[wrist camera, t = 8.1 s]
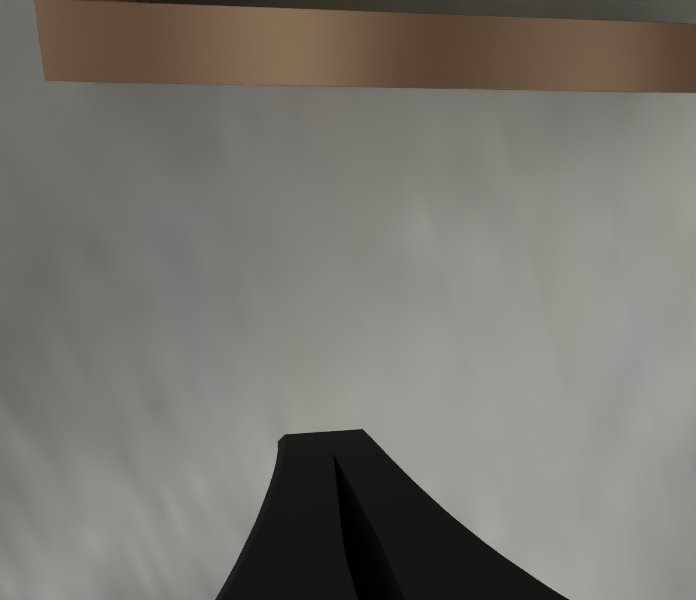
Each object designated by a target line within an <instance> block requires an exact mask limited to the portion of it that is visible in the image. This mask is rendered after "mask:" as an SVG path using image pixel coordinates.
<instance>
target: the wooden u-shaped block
mask: <svg viewBox="0 0 696 600" xmlns="http://www.w3.org/2000/svg"><path fill="white" fill-rule="evenodd" d="M34 2H35V10H36V17H37V25H38V32H39V39H40V47H41V54H42V62H43V69H44V77H45V80H49V81H77V82H118V83H172V84H226V85H280V86H333V87H387V88H441V89H495V90H548V91H602V92H661V93H696V24H688V23H661V22H635V21H608V20H582V19H556V18H529V17H503V16H477V15H450V14H424V13H397V12H371V11H345V10H318V9H292V8H266V7H239V6H213V5H186V4H160V3H143V0H34Z"/></svg>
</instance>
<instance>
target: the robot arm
mask: <svg viewBox="0 0 696 600" xmlns="http://www.w3.org/2000/svg"><path fill="white" fill-rule="evenodd" d="M215 600H569V599H567V598H565V597H564V596H562V595H561V594H559V593H557V592H556V591H554V590H552V589H551V588H549V587H548V586H546V585H545V584H543V583H542V582H540V581H539V580H537V579H536V578H534V577H533V576H531V575H530V574H528V573H527V572H525V571H524V570H523V569H521V568H520V567H518V566H517V565H515V564H514V563H512V562H511V561H509V560H508V559H506V558H505V557H504V556H502V555H501V554H499V553H498V552H497V551H495V550H494V549H493V548H491V547H490V546H489V545H487V544H486V543H485V542H483V541H482V540H481V539H480V538H478V537H477V536H476V535H475V534H473V533H472V532H471V531H470V530H468V529H467V528H466V527H465V526H464V525H462V524H461V523H460V522H459V521H457V520H456V519H455V518H454V517H452V516H451V515H450V514H449V513H448V512H447V511H445V510H444V509H443V508H442V507H441V506H440V505H439V504H438V503H437V502H436V501H435V500H433V499H432V498H431V497H430V496H429V495H428V494H427V493H426V492H425V491H424V490H423V489H422V488H420V487H419V486H418V485H417V484H416V483H415V482H414V481H413V480H412V479H411V478H410V477H409V476H408V475H407V474H406V473H405V472H404V471H403V470H402V469H401V468H400V467H399V466H398V465H397V464H396V463H395V462H394V461H393V460H392V459H391V458H390V457H389V456H388V455H387V454H386V453H385V452H384V451H383V449H382V448H381V447H380V446H379V445H378V444H377V443H376V442H375V441H374V440H373V439H372V438H371V437H370V436H369V435H368V434H367V433H366V432H365V431H364V430H363V429H358V430H344V431H329V432H315V433H300V434H285V435H284V436H283V437H282V438H281V439H280V440H279V441H278V454H277V460H276V465H275V469H274V472H273V476H272V479H271V482H270V486H269V488H268V491H267V494H266V496H265V499H264V501H263V504H262V507H261V509H260V512H259V515H258V517H257V519H256V522H255V524H254V526H253V528H252V530H251V533H250V535H249V537H248V539H247V541H246V543H245V545H244V547H243V549H242V551H241V553H240V555H239V558H238V560H237V562H236V564H235V565H234V567H233V569H232V571H231V573H230V575H229V577H228V578H227V580H226V582H225V584H224V586H223V587H222V589H221V591H220V592H219V594H218V596H217V598H216V599H215Z"/></svg>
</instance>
